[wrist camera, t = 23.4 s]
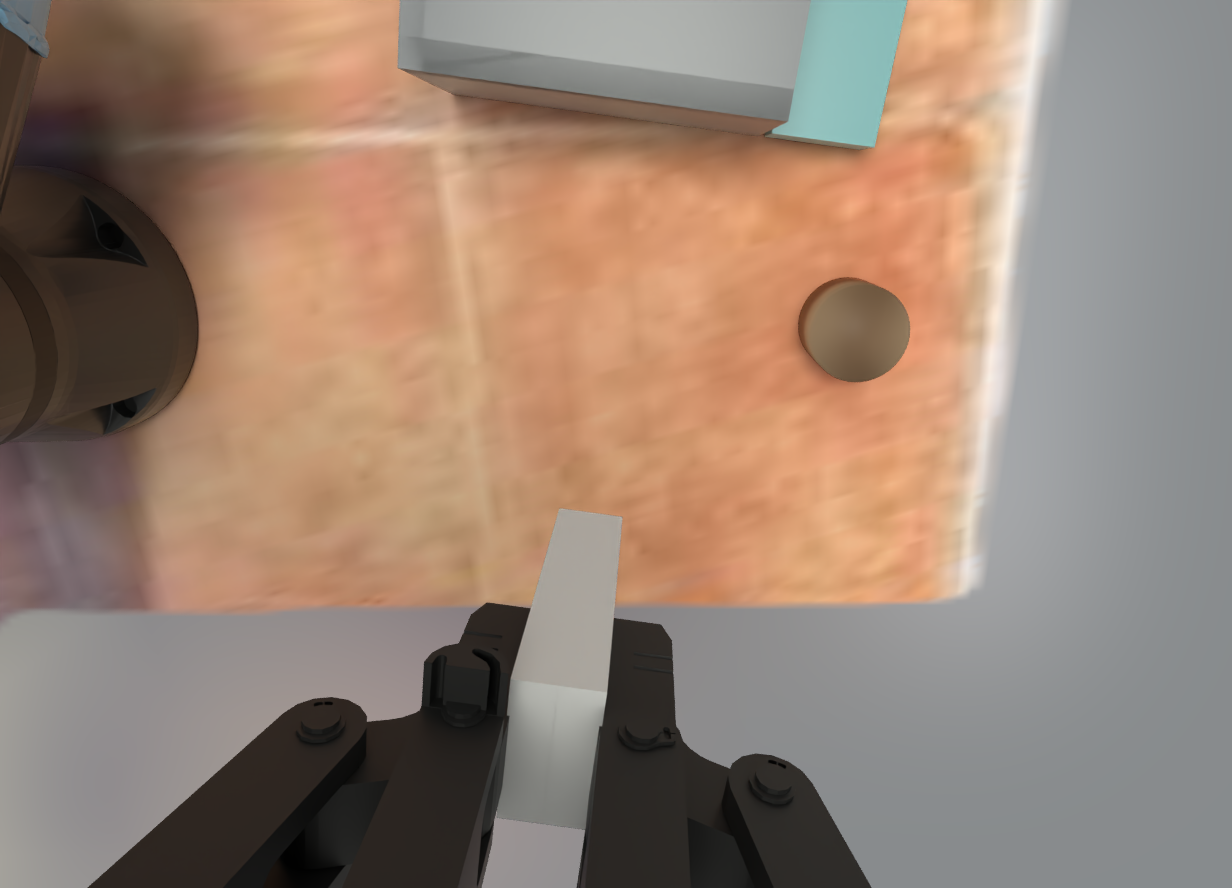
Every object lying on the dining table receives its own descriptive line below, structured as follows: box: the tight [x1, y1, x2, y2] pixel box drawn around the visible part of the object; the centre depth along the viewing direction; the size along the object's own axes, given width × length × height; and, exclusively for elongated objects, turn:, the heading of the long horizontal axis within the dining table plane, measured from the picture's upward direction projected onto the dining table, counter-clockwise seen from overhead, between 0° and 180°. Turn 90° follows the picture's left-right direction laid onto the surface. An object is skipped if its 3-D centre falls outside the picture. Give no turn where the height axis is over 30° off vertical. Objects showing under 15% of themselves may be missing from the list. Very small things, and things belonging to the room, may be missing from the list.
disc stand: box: [798, 277, 910, 382], centre depth 40 cm, size 5×5×4 cm
